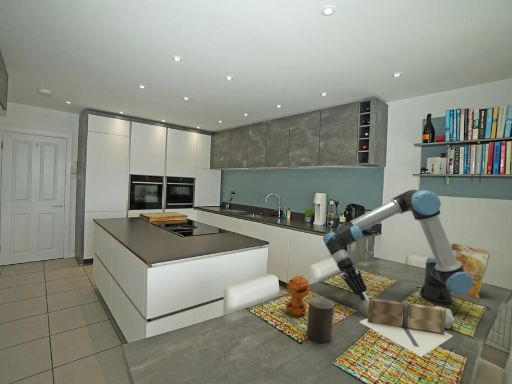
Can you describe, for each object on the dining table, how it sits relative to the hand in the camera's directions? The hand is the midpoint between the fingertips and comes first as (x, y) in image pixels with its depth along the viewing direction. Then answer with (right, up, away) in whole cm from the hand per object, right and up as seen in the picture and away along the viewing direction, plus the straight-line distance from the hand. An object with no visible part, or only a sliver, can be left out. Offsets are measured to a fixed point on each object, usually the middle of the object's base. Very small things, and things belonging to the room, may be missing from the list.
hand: (369, 306), depth 120 cm
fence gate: (+4, -5, -5) cm, 8 cm away
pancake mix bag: (+74, -8, +37) cm, 83 cm away
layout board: (+12, -7, -7) cm, 15 cm away
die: (+31, -8, -3) cm, 32 cm away
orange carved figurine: (-33, -4, +2) cm, 34 cm away
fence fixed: (+19, -7, -8) cm, 22 cm away
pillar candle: (-27, -5, -15) cm, 31 cm away
